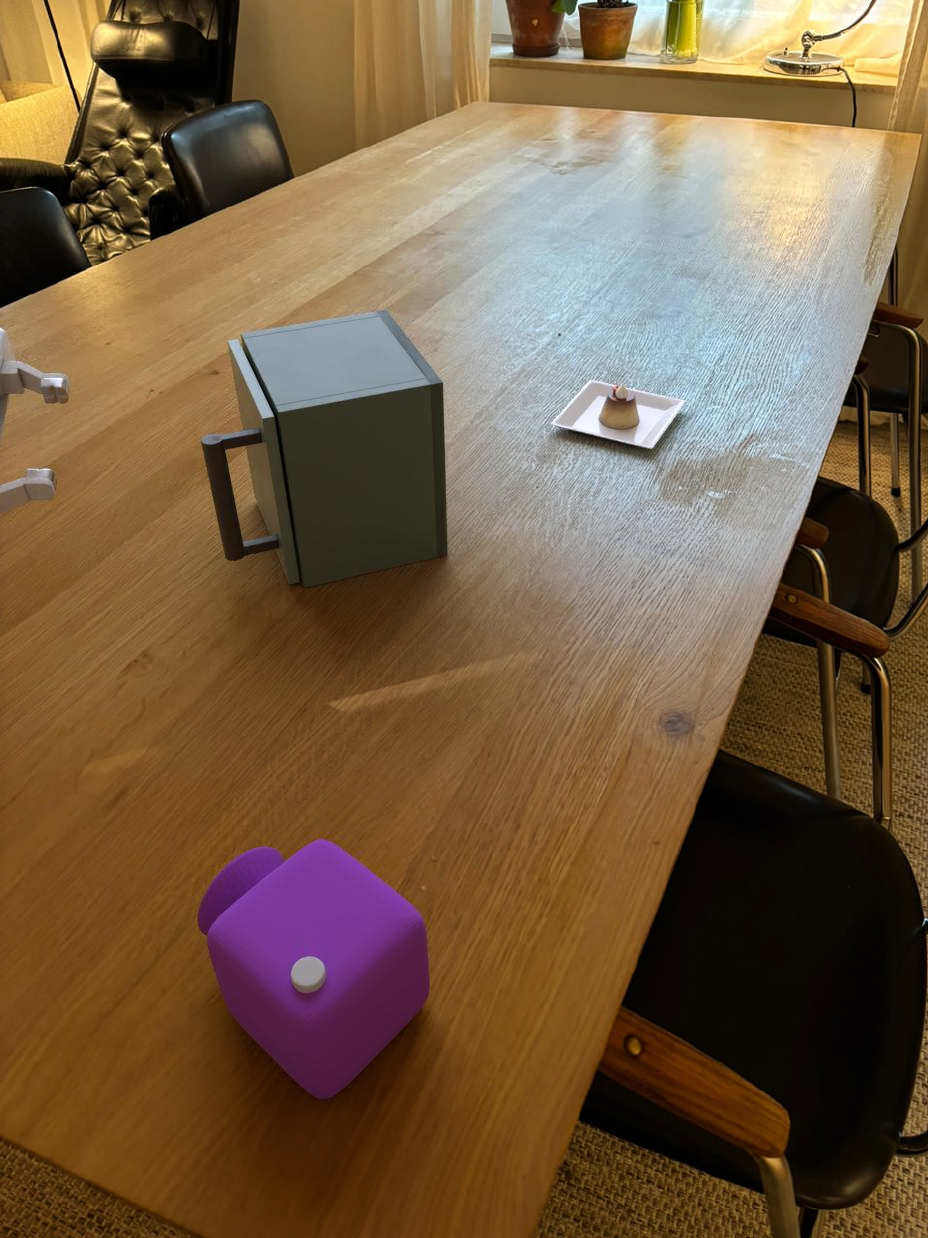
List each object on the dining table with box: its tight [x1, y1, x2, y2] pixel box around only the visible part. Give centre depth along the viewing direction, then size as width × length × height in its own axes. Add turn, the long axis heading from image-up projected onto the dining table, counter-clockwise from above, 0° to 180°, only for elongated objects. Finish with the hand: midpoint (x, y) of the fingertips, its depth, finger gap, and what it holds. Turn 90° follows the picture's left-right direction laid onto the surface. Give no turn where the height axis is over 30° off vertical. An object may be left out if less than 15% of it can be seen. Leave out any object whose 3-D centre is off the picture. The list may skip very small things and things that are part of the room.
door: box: [200, 338, 300, 585], centre depth 90 cm, size 6×16×17 cm, turn 21°
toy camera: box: [197, 838, 431, 1100], centre depth 57 cm, size 11×14×10 cm
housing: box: [240, 309, 449, 589], centre depth 93 cm, size 14×16×18 cm
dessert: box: [550, 379, 687, 450], centre depth 112 cm, size 12×12×5 cm
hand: (61, 434), depth 73 cm, fingers open, 8 cm apart
